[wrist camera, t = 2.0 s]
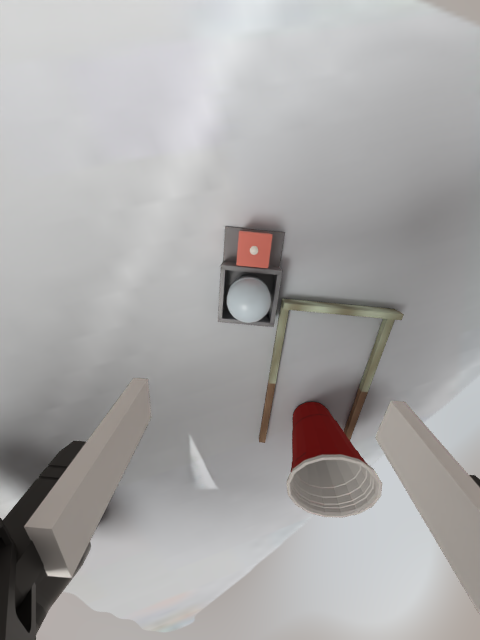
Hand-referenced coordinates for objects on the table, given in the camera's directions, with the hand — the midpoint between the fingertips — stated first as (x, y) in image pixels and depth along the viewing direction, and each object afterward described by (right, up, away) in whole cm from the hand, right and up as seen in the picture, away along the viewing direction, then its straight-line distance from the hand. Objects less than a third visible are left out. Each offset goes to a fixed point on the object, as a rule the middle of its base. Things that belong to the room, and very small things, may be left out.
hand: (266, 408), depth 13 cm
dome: (0, +8, +16) cm, 18 cm away
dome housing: (0, +11, +17) cm, 20 cm away
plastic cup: (+10, -11, +25) cm, 29 cm away
